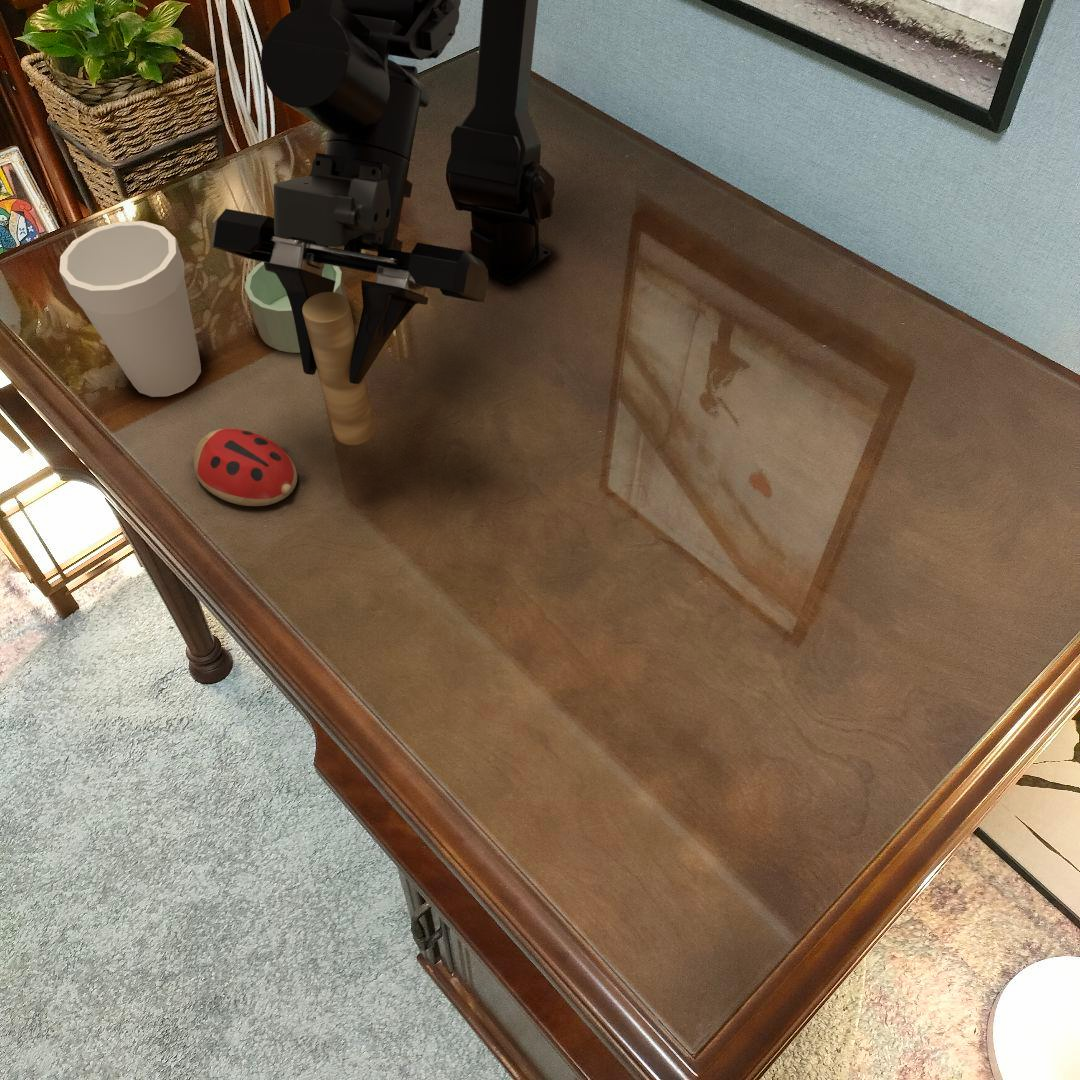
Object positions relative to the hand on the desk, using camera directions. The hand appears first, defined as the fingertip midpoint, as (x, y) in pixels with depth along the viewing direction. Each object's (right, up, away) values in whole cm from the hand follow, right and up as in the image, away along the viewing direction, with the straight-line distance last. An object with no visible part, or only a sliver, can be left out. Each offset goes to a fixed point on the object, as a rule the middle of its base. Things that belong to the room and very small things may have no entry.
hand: (331, 378), depth 72 cm
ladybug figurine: (-10, -6, +13) cm, 18 cm away
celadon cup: (-8, +9, +26) cm, 28 cm away
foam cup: (-20, +4, +22) cm, 29 cm away
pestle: (+1, -3, +6) cm, 7 cm away
